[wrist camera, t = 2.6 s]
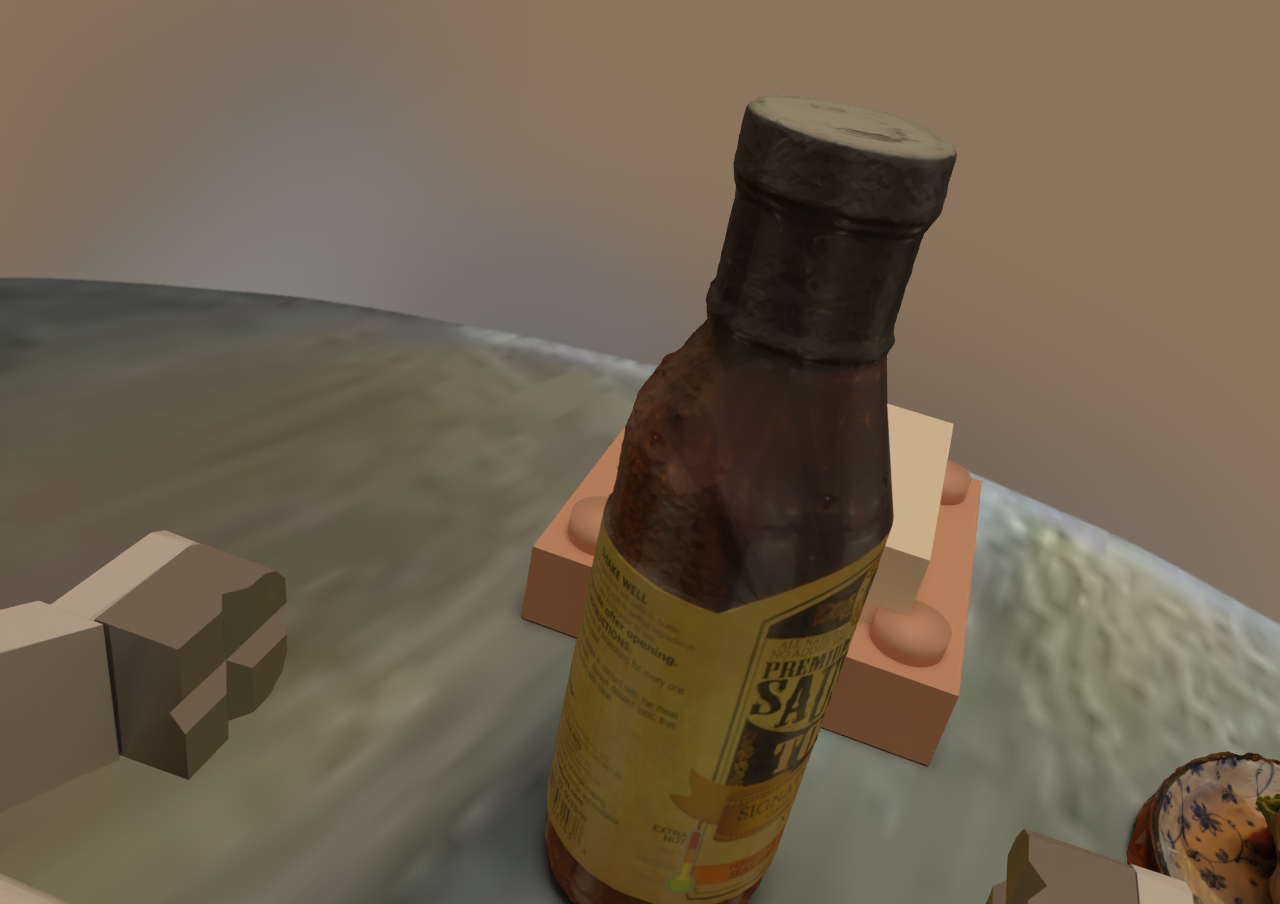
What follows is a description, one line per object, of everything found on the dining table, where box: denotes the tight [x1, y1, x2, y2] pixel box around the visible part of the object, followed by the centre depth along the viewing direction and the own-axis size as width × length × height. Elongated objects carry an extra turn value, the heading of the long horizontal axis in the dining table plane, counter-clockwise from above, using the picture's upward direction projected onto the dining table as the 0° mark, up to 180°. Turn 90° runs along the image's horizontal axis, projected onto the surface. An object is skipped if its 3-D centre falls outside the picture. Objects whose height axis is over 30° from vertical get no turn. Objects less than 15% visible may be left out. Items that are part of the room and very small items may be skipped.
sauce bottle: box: [544, 95, 957, 904], centre depth 25 cm, size 7×6×20 cm
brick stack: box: [522, 404, 982, 766], centre depth 40 cm, size 14×14×6 cm
